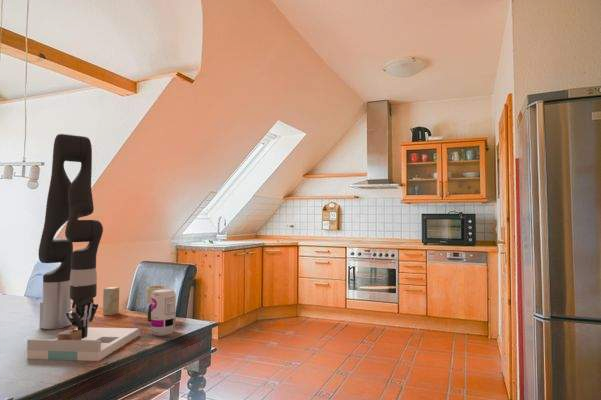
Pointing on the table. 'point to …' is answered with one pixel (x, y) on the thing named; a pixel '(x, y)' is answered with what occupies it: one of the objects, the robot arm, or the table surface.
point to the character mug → (148, 296)
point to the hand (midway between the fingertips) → (82, 337)
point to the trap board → (82, 345)
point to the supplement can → (163, 312)
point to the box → (111, 301)
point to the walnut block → (70, 335)
